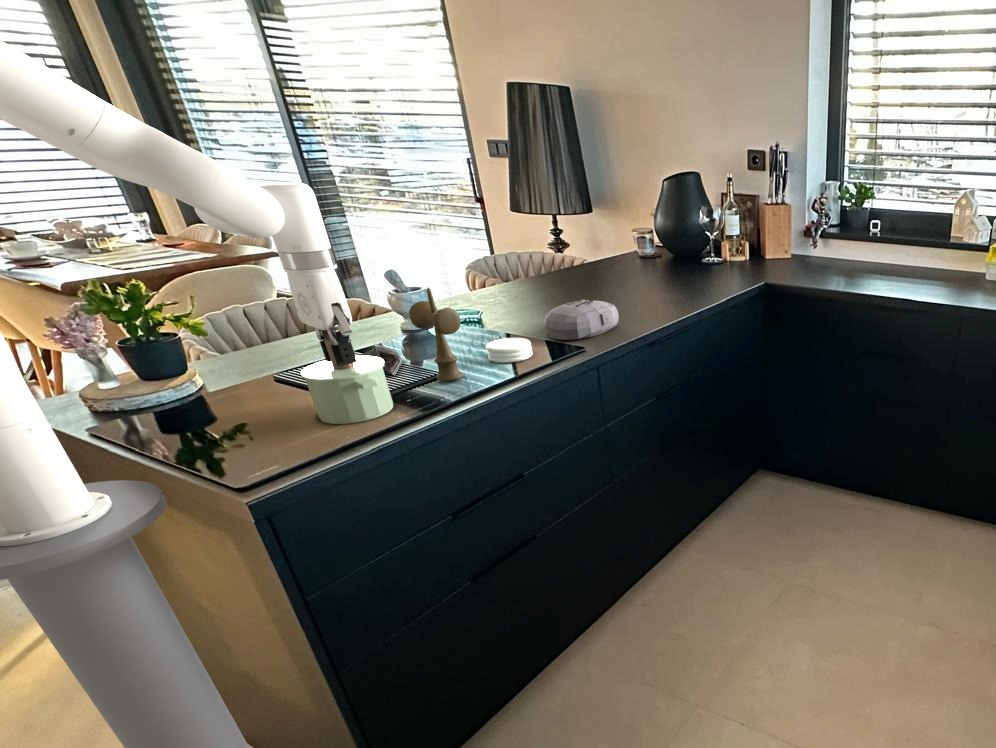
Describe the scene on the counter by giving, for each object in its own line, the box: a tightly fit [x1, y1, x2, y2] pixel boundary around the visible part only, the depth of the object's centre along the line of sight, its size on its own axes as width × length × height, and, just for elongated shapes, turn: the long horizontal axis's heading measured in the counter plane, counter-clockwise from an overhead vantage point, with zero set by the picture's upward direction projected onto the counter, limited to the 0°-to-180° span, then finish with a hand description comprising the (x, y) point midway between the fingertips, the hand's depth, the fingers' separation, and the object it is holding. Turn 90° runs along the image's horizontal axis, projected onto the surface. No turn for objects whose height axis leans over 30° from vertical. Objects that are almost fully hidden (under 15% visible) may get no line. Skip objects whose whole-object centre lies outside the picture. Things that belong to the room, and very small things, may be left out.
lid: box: [300, 337, 385, 381], centre depth 115 cm, size 13×13×7 cm
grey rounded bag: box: [543, 298, 620, 341], centre depth 168 cm, size 15×8×20 cm
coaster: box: [485, 337, 533, 364], centre depth 150 cm, size 10×10×4 cm
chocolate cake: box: [355, 342, 403, 376], centre depth 139 cm, size 10×7×12 cm
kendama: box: [408, 287, 464, 383], centre depth 132 cm, size 6×10×20 cm, turn 58°
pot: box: [304, 368, 394, 425], centre depth 118 cm, size 12×17×8 cm
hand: (341, 361), depth 116 cm, fingers closed on lid, 3 cm apart
